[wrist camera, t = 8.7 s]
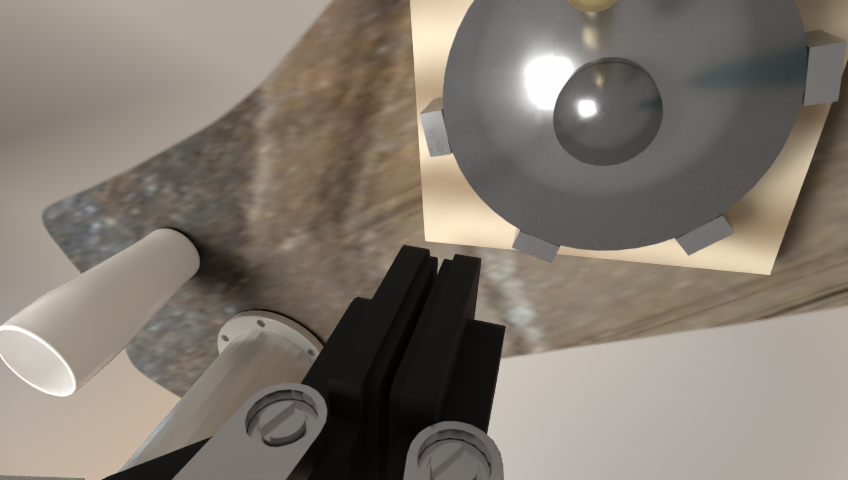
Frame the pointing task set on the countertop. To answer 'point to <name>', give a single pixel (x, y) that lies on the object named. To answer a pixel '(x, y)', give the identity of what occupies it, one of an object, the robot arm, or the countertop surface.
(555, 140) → the tabbed metal disc
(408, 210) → the countertop surface
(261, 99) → the countertop surface
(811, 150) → the nut base
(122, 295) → the white tall cup
